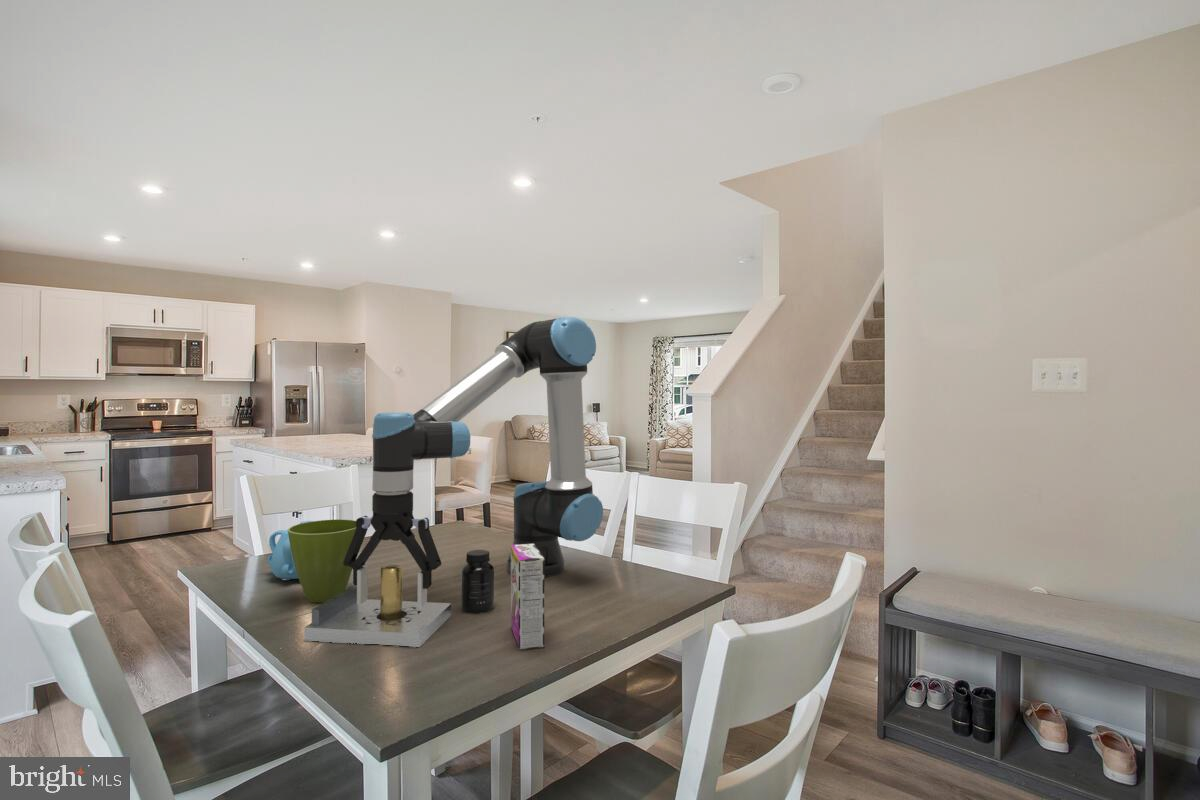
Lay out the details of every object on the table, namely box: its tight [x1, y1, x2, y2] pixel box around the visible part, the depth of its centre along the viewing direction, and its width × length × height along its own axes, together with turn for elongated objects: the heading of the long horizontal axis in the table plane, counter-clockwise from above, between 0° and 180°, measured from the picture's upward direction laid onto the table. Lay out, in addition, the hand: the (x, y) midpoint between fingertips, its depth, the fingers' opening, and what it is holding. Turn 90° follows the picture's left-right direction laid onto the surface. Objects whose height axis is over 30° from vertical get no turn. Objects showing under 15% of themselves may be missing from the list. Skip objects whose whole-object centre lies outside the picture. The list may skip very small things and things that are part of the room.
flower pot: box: [287, 518, 356, 603], centre depth 132 cm, size 15×15×16 cm
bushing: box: [380, 563, 404, 621], centre depth 115 cm, size 4×4×12 cm
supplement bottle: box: [461, 549, 495, 614], centre depth 126 cm, size 7×7×12 cm
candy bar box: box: [510, 544, 545, 651], centre depth 111 cm, size 11×5×16 cm, turn 17°
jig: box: [303, 585, 452, 648], centre depth 115 cm, size 22×16×6 cm
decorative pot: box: [267, 520, 313, 580], centre depth 149 cm, size 16×16×14 cm
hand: (392, 603), depth 115 cm, fingers open, 11 cm apart
